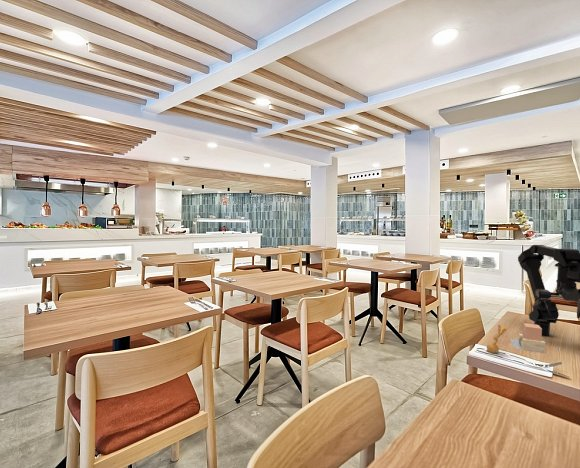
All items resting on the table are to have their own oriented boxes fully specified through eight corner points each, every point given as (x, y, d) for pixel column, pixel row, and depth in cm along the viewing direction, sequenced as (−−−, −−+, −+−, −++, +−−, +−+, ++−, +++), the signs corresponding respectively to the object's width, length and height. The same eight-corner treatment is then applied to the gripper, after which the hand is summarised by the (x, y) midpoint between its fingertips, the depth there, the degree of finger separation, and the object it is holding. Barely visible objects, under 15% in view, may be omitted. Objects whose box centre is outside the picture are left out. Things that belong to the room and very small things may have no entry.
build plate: (508, 339, 138) (509, 338, 138) (537, 343, 134) (537, 342, 134) (515, 350, 127) (515, 348, 127) (546, 354, 123) (546, 353, 123)
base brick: (518, 343, 133) (519, 333, 133) (539, 346, 130) (539, 336, 130) (522, 349, 127) (523, 339, 127) (544, 352, 124) (545, 342, 124)
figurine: (488, 348, 129) (490, 319, 128) (506, 352, 125) (508, 322, 124) (484, 355, 122) (486, 324, 122) (503, 359, 118) (504, 328, 118)
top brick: (522, 334, 132) (523, 322, 131) (537, 336, 130) (538, 324, 129) (525, 339, 127) (526, 326, 127) (541, 341, 125) (541, 328, 125)
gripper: (544, 280, 127) (541, 318, 128) (605, 285, 120) (602, 326, 121) (536, 275, 138) (534, 311, 138) (592, 280, 130) (589, 317, 131)
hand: (563, 316), depth 132 cm, fingers open, 9 cm apart
